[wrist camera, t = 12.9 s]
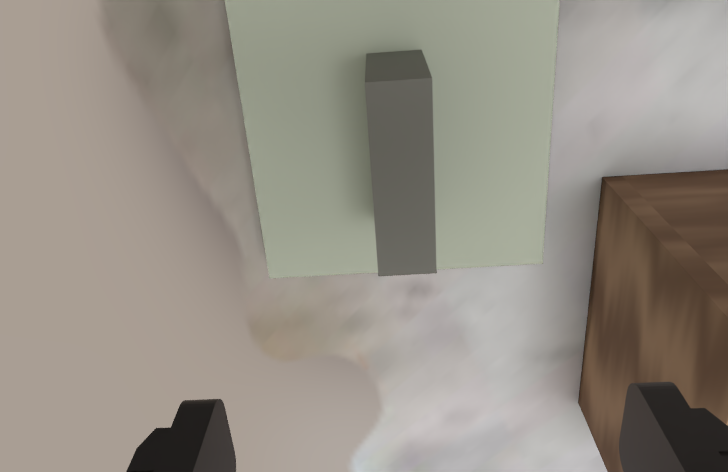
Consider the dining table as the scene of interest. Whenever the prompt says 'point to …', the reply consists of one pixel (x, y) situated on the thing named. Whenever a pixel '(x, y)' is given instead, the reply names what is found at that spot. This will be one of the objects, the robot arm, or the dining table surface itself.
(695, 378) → the box
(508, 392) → the dining table surface
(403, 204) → the lid
